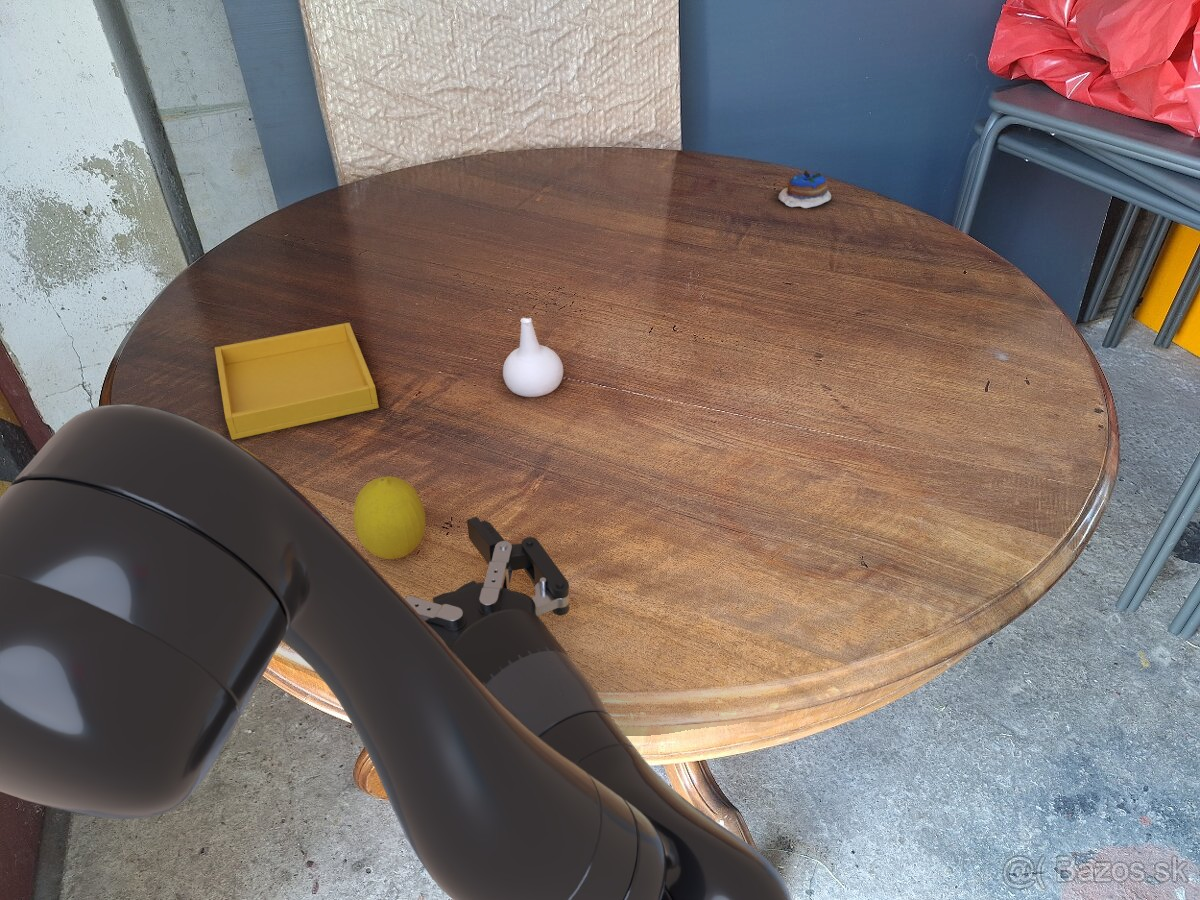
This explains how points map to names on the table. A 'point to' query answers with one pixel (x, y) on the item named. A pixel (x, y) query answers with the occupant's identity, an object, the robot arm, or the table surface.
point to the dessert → (805, 191)
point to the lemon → (389, 517)
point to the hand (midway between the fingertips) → (418, 547)
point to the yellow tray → (293, 380)
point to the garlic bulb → (532, 365)
